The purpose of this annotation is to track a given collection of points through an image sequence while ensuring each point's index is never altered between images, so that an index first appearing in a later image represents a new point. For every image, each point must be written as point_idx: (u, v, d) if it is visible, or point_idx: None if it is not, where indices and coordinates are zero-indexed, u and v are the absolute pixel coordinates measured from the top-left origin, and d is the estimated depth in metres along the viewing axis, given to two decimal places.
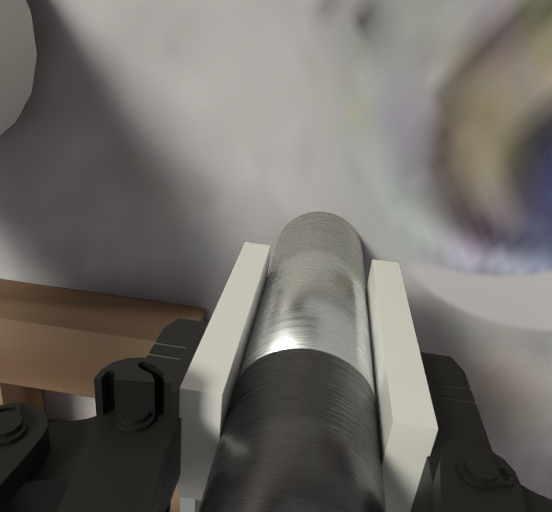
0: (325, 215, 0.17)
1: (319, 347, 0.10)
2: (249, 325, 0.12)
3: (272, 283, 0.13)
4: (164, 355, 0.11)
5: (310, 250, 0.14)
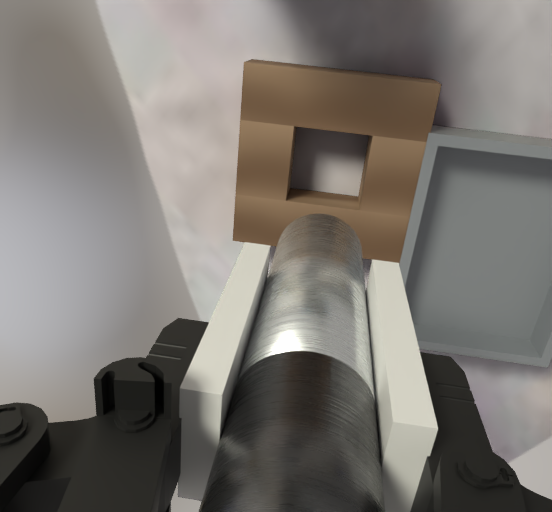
0: (325, 216, 0.17)
1: (319, 349, 0.10)
2: (249, 325, 0.12)
3: (272, 285, 0.13)
4: (164, 355, 0.11)
5: (310, 252, 0.14)
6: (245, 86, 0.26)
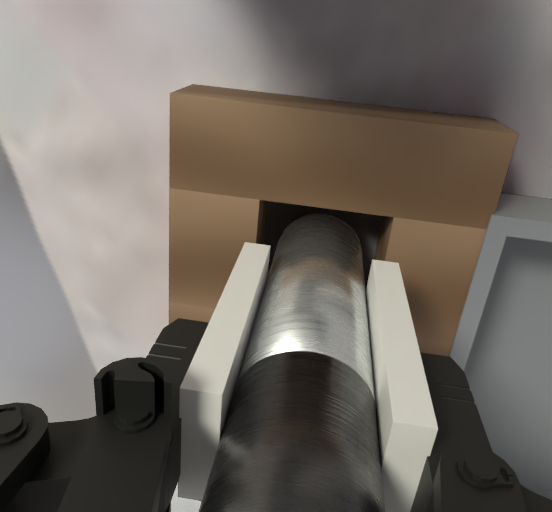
0: (325, 216, 0.17)
1: (319, 350, 0.10)
2: (249, 325, 0.12)
3: (272, 285, 0.13)
4: (164, 355, 0.11)
5: (310, 252, 0.14)
6: (174, 133, 0.15)
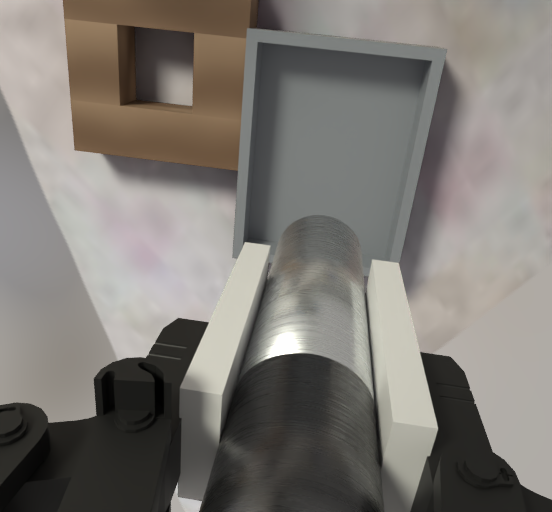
0: (324, 217, 0.17)
1: (319, 352, 0.10)
2: (249, 325, 0.12)
3: (272, 287, 0.13)
4: (164, 355, 0.11)
5: (310, 253, 0.14)
6: None
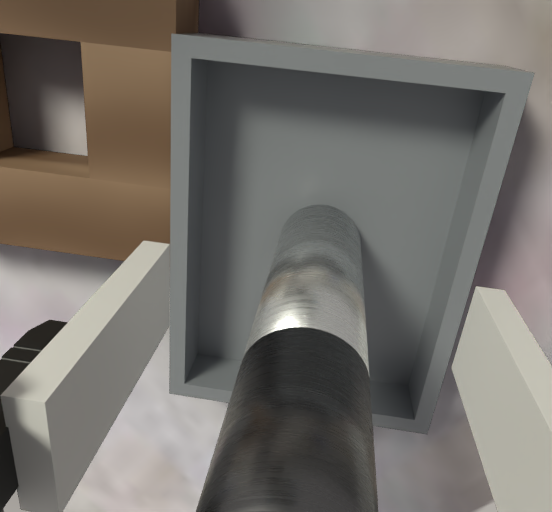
0: (325, 207, 0.18)
1: (318, 326, 0.11)
2: (121, 327, 0.11)
3: (275, 270, 0.14)
4: (17, 359, 0.10)
5: (311, 239, 0.15)
6: None
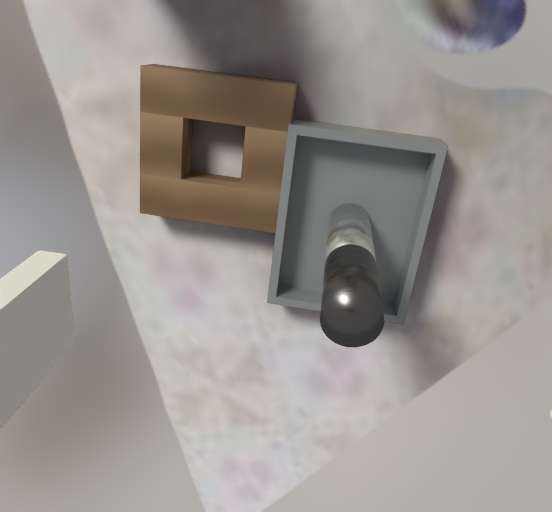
0: (353, 204, 0.36)
1: (357, 244, 0.29)
2: None
3: (333, 229, 0.32)
4: None
5: (348, 217, 0.33)
6: (142, 84, 0.33)
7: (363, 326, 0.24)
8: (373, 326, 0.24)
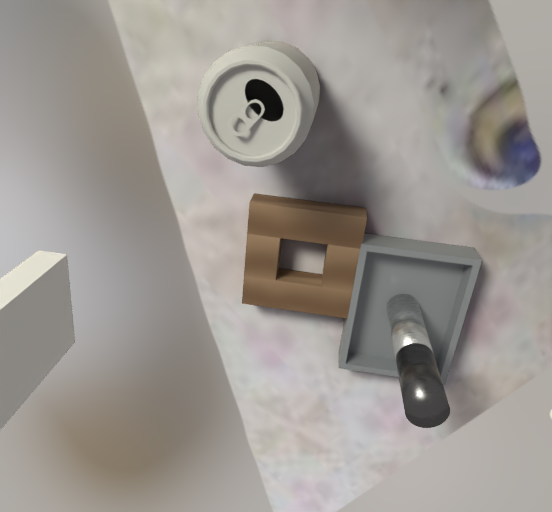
0: (406, 295, 0.46)
1: (420, 342, 0.40)
2: None
3: (397, 323, 0.43)
4: None
5: (407, 311, 0.44)
6: (250, 215, 0.43)
7: (435, 415, 0.35)
8: (442, 414, 0.35)
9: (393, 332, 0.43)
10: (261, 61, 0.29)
